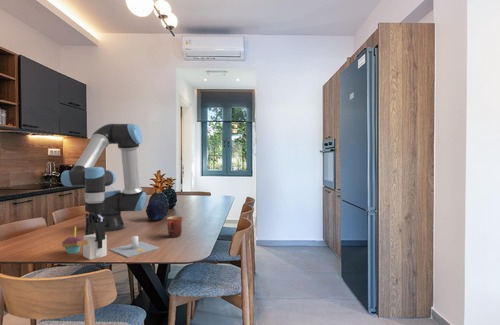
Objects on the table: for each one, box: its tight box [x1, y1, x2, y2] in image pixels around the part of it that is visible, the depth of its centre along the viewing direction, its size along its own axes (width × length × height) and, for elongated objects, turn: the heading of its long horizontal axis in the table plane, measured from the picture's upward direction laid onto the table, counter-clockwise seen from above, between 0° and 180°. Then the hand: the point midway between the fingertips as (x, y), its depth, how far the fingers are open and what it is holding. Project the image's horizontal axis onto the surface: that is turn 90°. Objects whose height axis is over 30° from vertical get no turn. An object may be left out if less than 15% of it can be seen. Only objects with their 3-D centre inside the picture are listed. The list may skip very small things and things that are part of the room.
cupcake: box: [61, 225, 83, 255], centre depth 131 cm, size 9×8×12 cm
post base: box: [109, 235, 160, 258], centre depth 135 cm, size 16×16×6 cm
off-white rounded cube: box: [77, 233, 108, 261], centre depth 124 cm, size 10×7×9 cm, turn 141°
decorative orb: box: [145, 199, 168, 222], centre depth 200 cm, size 14×15×15 cm
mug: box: [166, 215, 184, 238], centre depth 157 cm, size 12×9×10 cm
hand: (95, 253), depth 126 cm, fingers closed on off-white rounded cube, 7 cm apart
